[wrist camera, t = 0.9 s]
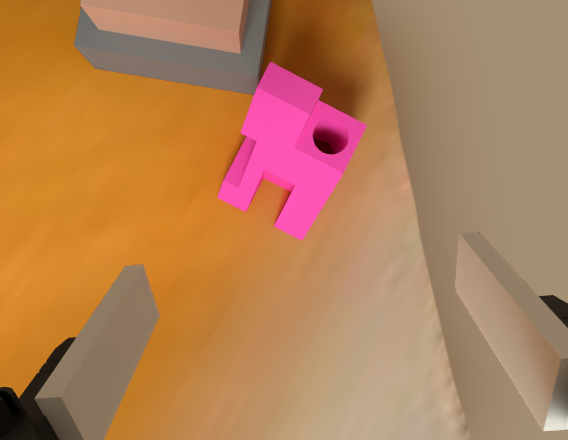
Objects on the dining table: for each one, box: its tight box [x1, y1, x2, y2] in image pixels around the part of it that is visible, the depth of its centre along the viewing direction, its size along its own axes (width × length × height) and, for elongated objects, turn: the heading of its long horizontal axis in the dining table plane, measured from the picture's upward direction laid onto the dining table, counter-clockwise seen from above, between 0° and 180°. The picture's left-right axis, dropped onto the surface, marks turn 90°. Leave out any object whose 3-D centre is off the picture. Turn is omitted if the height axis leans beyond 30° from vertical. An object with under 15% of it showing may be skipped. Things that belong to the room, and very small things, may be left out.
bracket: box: [218, 62, 367, 240], centre depth 39 cm, size 12×10×10 cm
